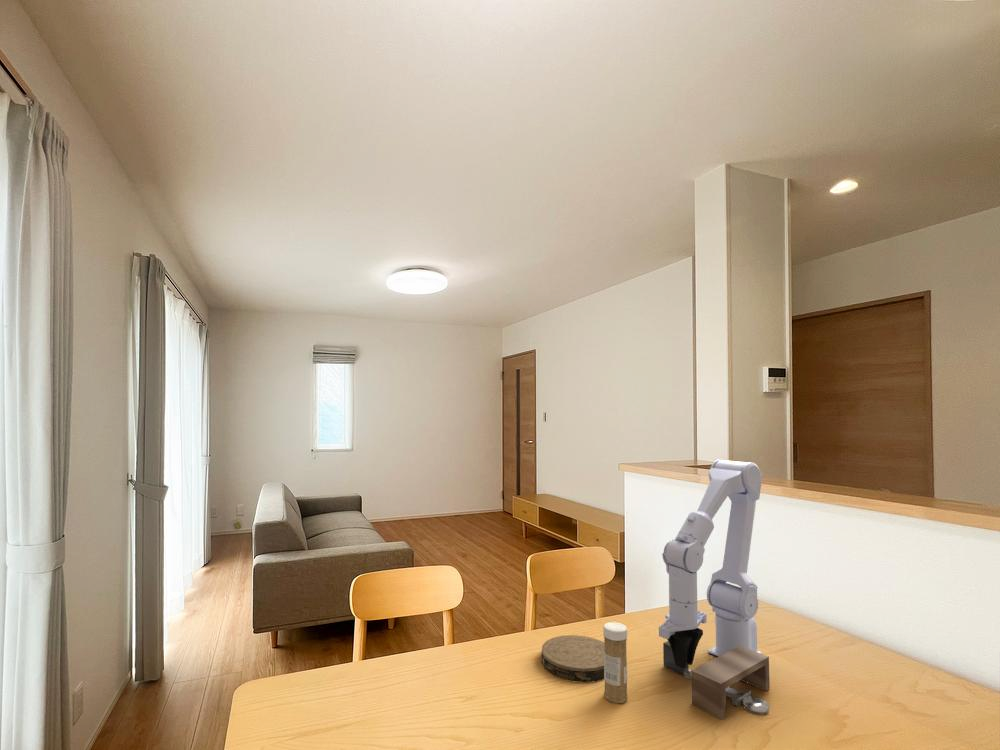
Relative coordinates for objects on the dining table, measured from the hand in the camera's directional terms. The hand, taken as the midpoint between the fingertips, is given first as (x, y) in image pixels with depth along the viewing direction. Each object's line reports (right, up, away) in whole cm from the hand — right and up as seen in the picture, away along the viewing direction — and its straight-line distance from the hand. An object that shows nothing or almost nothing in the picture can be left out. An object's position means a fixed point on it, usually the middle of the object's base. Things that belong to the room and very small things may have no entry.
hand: (683, 664), depth 109 cm
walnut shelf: (+6, -1, -8) cm, 11 cm away
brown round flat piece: (-22, -2, +4) cm, 22 cm away
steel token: (+9, -1, -12) cm, 15 cm away
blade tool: (+3, -2, -4) cm, 5 cm away
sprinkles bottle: (-17, -1, -10) cm, 19 cm away
